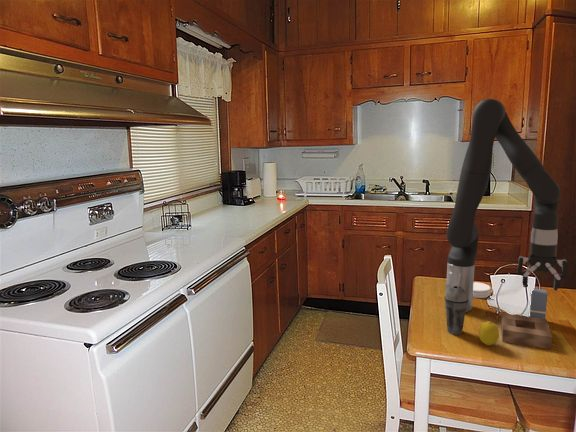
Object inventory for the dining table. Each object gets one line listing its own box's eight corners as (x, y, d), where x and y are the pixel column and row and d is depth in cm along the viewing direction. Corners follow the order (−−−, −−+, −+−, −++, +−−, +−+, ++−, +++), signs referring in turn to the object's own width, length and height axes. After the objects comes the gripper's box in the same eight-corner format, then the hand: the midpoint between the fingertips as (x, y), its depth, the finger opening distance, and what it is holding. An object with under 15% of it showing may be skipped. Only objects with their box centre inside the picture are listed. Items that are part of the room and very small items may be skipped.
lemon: (474, 342, 132) (476, 318, 130) (491, 340, 132) (493, 317, 131) (484, 350, 126) (486, 326, 125) (501, 349, 127) (503, 324, 125)
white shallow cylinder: (490, 300, 164) (491, 291, 163) (462, 296, 168) (463, 288, 167) (490, 291, 172) (491, 283, 172) (464, 288, 177) (464, 280, 176)
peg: (529, 323, 143) (532, 292, 141) (528, 317, 147) (530, 288, 145) (544, 325, 141) (547, 294, 139) (543, 320, 145) (546, 289, 143)
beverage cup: (438, 329, 141) (440, 272, 137) (454, 325, 144) (457, 268, 140) (454, 338, 134) (457, 279, 130) (471, 334, 137) (475, 275, 133)
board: (502, 341, 132) (503, 329, 131) (501, 324, 143) (501, 313, 142) (550, 349, 126) (552, 337, 125) (545, 330, 138) (546, 319, 137)
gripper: (519, 242, 138) (517, 289, 141) (571, 245, 132) (567, 294, 135) (518, 237, 145) (515, 282, 148) (567, 240, 139) (563, 286, 142)
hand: (540, 288), depth 142 cm, fingers open, 8 cm apart
